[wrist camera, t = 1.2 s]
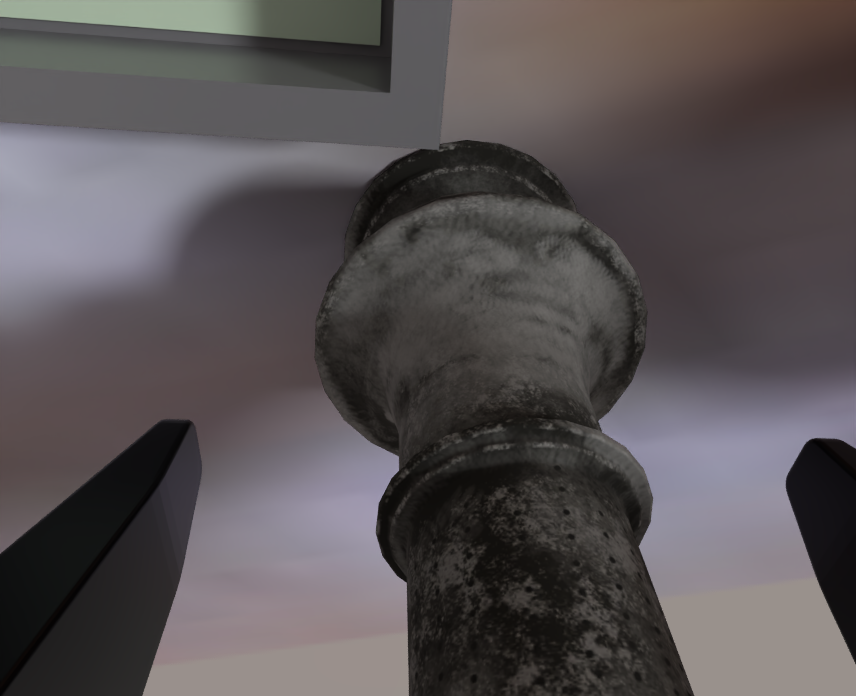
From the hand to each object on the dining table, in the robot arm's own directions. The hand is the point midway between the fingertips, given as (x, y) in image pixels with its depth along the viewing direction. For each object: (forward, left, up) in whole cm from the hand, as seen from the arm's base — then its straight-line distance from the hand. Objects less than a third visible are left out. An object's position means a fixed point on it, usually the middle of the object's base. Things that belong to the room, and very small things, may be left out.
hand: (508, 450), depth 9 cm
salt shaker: (0, 0, -6) cm, 6 cm away
